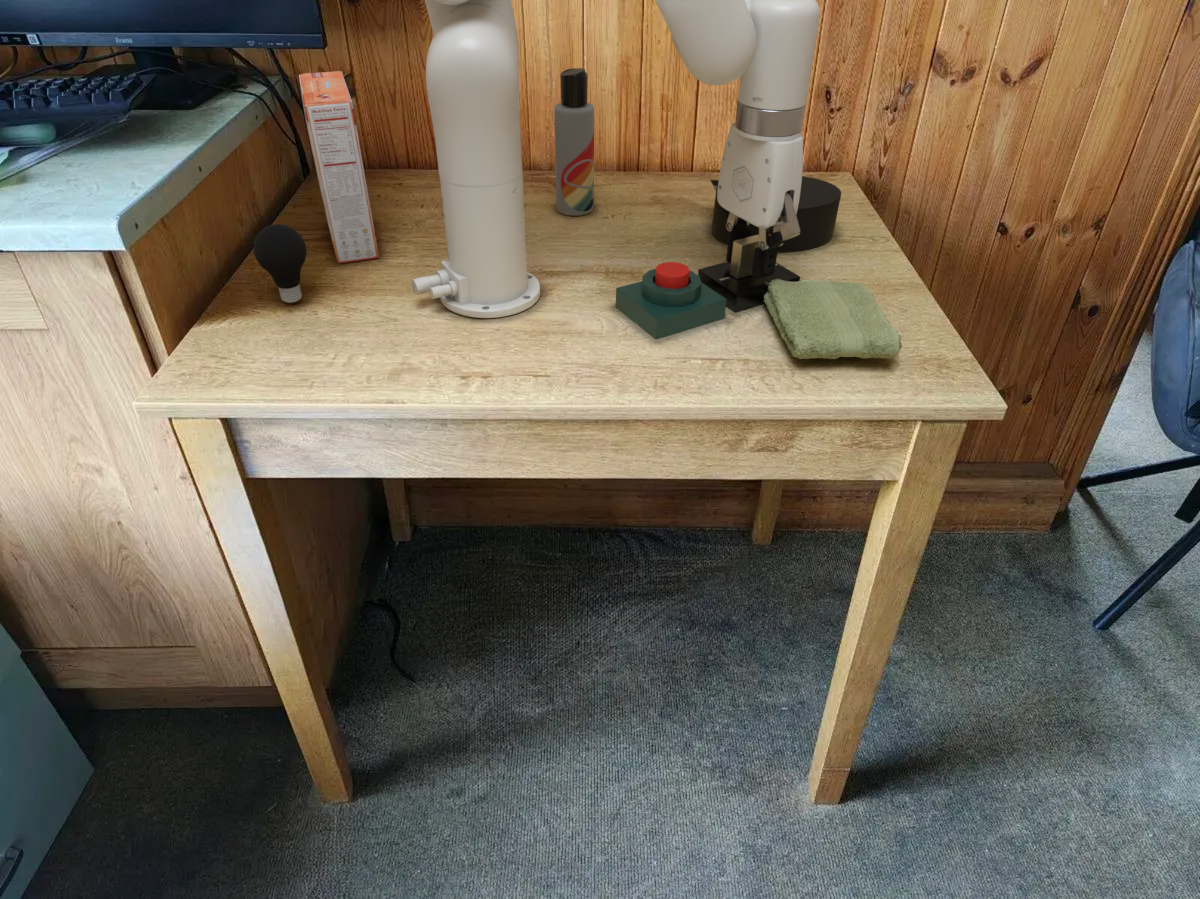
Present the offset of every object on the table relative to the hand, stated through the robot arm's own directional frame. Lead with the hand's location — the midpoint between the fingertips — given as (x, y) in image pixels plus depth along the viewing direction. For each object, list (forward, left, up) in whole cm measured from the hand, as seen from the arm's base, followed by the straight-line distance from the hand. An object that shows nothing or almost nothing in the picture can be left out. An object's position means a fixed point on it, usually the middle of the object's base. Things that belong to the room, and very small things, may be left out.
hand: (749, 266), depth 105 cm
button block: (-12, 0, -3) cm, 12 cm away
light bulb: (-51, +25, -4) cm, 57 cm away
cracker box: (-39, +39, -4) cm, 55 cm away
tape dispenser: (+15, +13, -4) cm, 20 cm away
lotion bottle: (-6, +34, -4) cm, 35 cm away
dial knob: (0, 0, -1) cm, 1 cm away
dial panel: (0, 0, -3) cm, 3 cm away
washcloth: (+1, -13, -3) cm, 14 cm away
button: (-12, 0, +1) cm, 12 cm away
